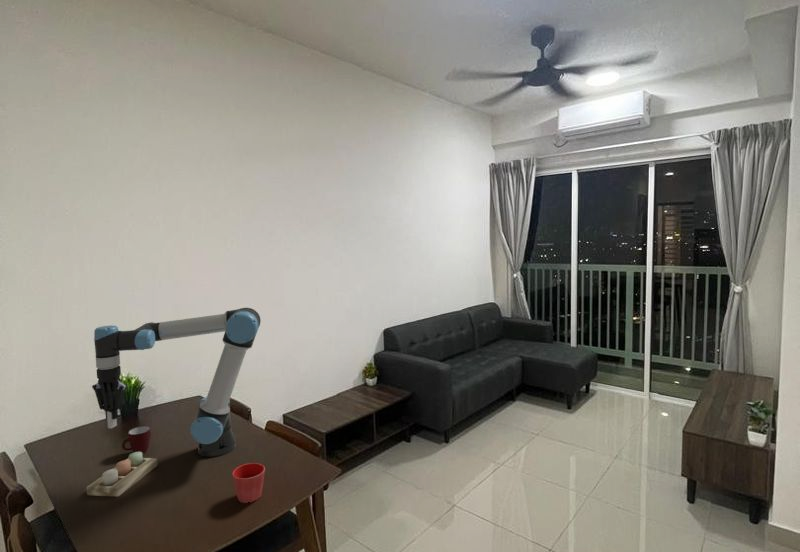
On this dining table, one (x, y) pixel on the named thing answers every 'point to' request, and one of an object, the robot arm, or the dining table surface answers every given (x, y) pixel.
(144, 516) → the dining table surface
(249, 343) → the robot arm
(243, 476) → the flower pot
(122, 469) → the button terracotta
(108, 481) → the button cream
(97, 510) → the dining table surface
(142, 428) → the mug
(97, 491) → the button board
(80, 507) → the dining table surface
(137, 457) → the button sage
